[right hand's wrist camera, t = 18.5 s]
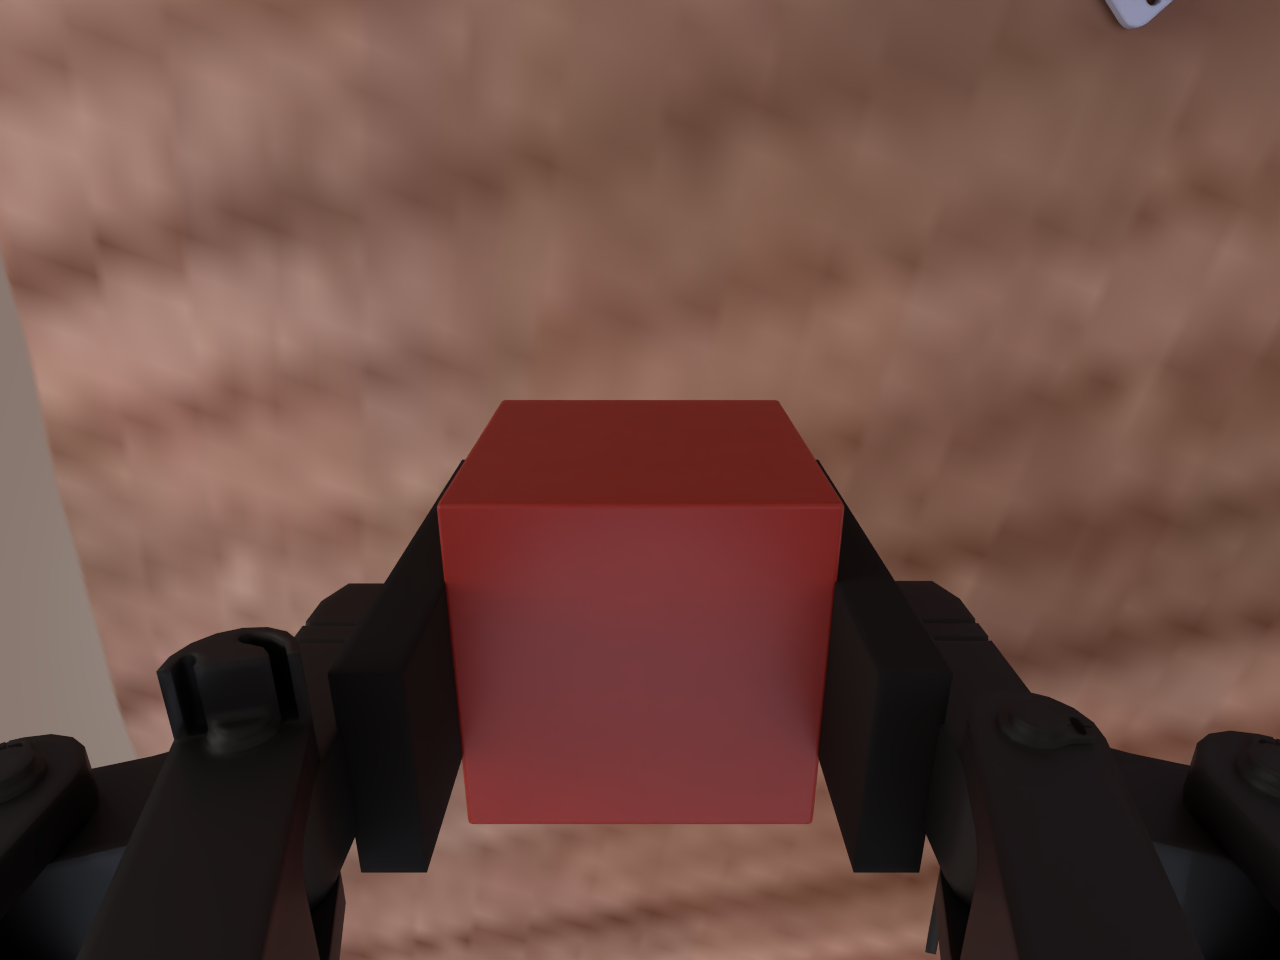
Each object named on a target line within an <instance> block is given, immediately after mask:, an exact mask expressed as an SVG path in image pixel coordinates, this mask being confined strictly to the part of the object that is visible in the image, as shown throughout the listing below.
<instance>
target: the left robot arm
mask: <svg viewBox="0 0 1280 960" xmlns="http://www.w3.org/2000/svg"><path fill="white" fill-rule="evenodd" d="M1105 1H1106V3H1107V4H1108V6H1109V8H1110V9H1111V11H1112V12H1113V14H1114V16H1115V17H1116V19H1117V20H1118V22H1119V23H1120V24H1121V25H1122V26H1123V27H1124V28H1127V29H1133V28H1138V27H1141V26H1143V25H1145V24H1146V23H1148V22H1149V21H1150V20H1151V19H1152V18H1153V17H1155V16H1156V15H1157V14H1158V13H1159V12H1160V11H1161V10H1162V9H1164V8H1165V7H1166V6H1167V5H1168V4H1169V3H1170V2H1171V1H1173V0H1155V2H1154V3H1153V4H1152V5H1149V4H1148V3H1147V1H1146V0H1105Z"/></svg>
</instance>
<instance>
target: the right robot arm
mask: <svg viewBox="0 0 1280 960" xmlns="http://www.w3.org/2000/svg"><path fill="white" fill-rule="evenodd" d="M464 461H465V460H462V461H461V463H460V464H459V466H458V467H457V469H456V471H455V472H454V474H453V475H452V477H451V478H450V480H449V482H448V483H447V485H446V486H445V488H444V490H443V491H442V493H441V494H440V496H439V497H438V499H437V501H436V502H435V504H434V505H433V507H432V509H431V510H430V512H429V513H428V515H427V516H426V518H425V520H424V521H423V523H422V524H421V526H420V528H419V529H418V531H417V532H416V534H415V535H414V537H413V539H412V540H411V542H410V543H409V545H408V547H407V548H406V550H405V551H404V553H403V554H402V556H401V558H400V559H399V561H398V562H397V564H396V566H395V567H394V569H393V570H392V572H391V573H390V575H389V577H388V578H387V580H386V581H385V583H384V584H347V585H346V586H344V587H343V588H341V589H340V590H338V591H337V592H335V593H333V594H332V595H330V596H329V597H327V598H326V599H324V600H323V601H321V602H320V604H319V605H318V606H317V608H316V609H315V610H314V612H313V613H312V614H311V616H310V617H309V618H308V620H307V621H306V626H302V628H301V629H300V630H299V632H298V633H297V634H296V636H295V637H293V636H292V635H291V634H289V633H288V632H287V631H283V630H278V629H274V628H269V627H256V628H240V629H236V630H231V631H226V632H221V633H217V634H214V635H211V636H209V637H206V638H204V639H201V640H198V641H196V642H193V643H191V644H189V645H188V646H186V647H184V648H183V649H181V650H180V651H178V652H176V653H175V654H173V655H172V656H170V657H169V658H168V659H167V660H166V661H165V662H164V664H163V665H162V666H161V667H160V668H159V669H158V670H157V671H156V672H157V676H158V680H159V683H160V687H161V691H162V695H163V699H164V702H165V706H166V710H167V714H168V718H169V721H170V725H171V729H172V733H173V737H174V742H173V744H172V746H171V748H170V751H169V752H166V753H163V754H159V755H155V756H151V757H147V758H142V759H137V760H132V761H127V762H123V763H118V764H113V765H108V766H103V767H98V768H93V769H92V768H91V765H90V762H89V759H88V756H87V753H86V750H85V747H84V746H83V745H82V744H81V743H79V742H78V741H77V740H76V739H74V738H73V737H68V736H61V735H54V734H49V735H41V736H32V737H24V738H19V739H15V740H11V741H9V742H7V743H5V742H4V743H1V744H0V960H339V958H340V949H341V940H342V931H343V922H344V913H345V904H346V902H345V895H344V888H343V883H342V877H341V872H340V870H341V868H342V866H343V863H344V861H345V859H346V856H347V854H348V852H349V849H350V847H351V845H352V843H353V840H354V838H356V844H357V850H358V856H359V862H360V868H361V872H427V870H428V867H429V864H430V861H431V857H432V854H433V851H434V847H435V844H436V841H437V838H438V834H439V831H440V828H441V825H442V821H443V818H444V815H445V812H446V808H447V805H448V802H449V799H450V795H451V792H452V789H453V786H454V782H455V779H456V776H457V773H458V769H459V766H460V763H461V760H462V746H461V736H460V726H459V716H458V706H457V696H456V687H455V677H454V667H453V657H452V647H451V637H450V627H449V617H448V607H447V597H446V587H445V581H444V573H443V563H442V553H441V543H440V533H439V523H438V513H437V506H438V503H439V501H440V500H441V498H442V497H443V495H444V493H445V492H446V490H447V489H448V487H449V485H450V484H451V482H452V481H453V479H454V477H455V476H456V474H457V473H458V471H459V469H460V468H461V466H462V465H463V463H464ZM816 461H817V463H818V465H819V466H820V468H821V469H822V471H823V473H824V474H825V476H826V477H827V479H828V480H829V482H830V484H831V485H832V487H833V488H834V490H835V492H836V493H837V495H838V496H839V498H840V499H841V501H842V503H843V505H844V516H843V526H842V535H841V545H840V555H839V565H838V575H837V581H836V582H835V592H834V602H833V612H832V622H831V632H830V642H829V652H828V662H827V672H826V682H825V692H824V702H823V712H822V721H821V731H820V741H819V751H818V758H819V761H820V764H821V768H822V771H823V774H824V777H825V781H826V784H827V787H828V791H829V794H830V797H831V800H832V804H833V807H834V810H835V813H836V817H837V820H838V823H839V826H840V830H841V833H842V836H843V839H844V843H845V846H846V849H847V852H848V856H849V859H850V862H851V865H852V869H853V872H913V873H919V871H920V865H921V859H922V853H923V847H924V841H925V836H926V835H927V837H928V840H929V842H930V844H931V847H932V849H933V851H934V854H935V856H936V858H937V860H938V863H939V865H940V872H939V877H938V883H937V888H936V894H935V899H934V904H933V910H932V915H931V921H930V926H929V932H928V938H927V944H926V951H925V952H927V953H932V954H936V951H937V946H938V940H939V947H940V956H941V960H1280V739H1277V740H1276V739H1273V737H1269V736H1265V735H1260V734H1253V733H1245V732H1236V731H1225V732H1218V733H1211V734H1208V735H1207V736H1206V737H1204V738H1203V739H1202V740H1200V741H1199V742H1198V743H1197V745H1196V748H1195V752H1194V755H1193V758H1192V761H1191V764H1190V766H1189V765H1184V764H1179V763H1175V762H1170V761H1165V760H1160V759H1155V758H1150V757H1145V756H1141V755H1136V754H1131V753H1127V752H1123V751H1120V750H1116V749H1112V748H1110V747H1109V745H1108V742H1107V740H1106V738H1105V737H1104V736H1103V734H1102V733H1101V732H1100V730H1099V729H1098V728H1097V726H1096V725H1095V724H1094V722H1092V721H1091V720H1089V719H1088V718H1087V717H1085V716H1084V715H1083V714H1081V713H1080V712H1078V711H1077V710H1076V709H1074V708H1072V707H1070V706H1068V705H1066V704H1064V703H1061V702H1059V701H1057V700H1055V699H1052V698H1050V697H1047V696H1043V695H1038V694H1034V693H1031V692H1030V691H1029V690H1028V688H1027V687H1026V686H1025V684H1024V683H1023V682H1022V680H1021V679H1020V678H1019V676H1018V675H1017V674H1016V672H1015V671H1014V670H1013V668H1012V667H1011V666H1010V665H1009V663H1008V662H1007V661H1006V659H1005V658H1004V657H1003V655H1002V654H1001V653H1000V651H999V650H998V649H997V647H996V646H995V645H994V643H993V642H992V641H988V636H987V634H986V633H985V632H984V630H983V629H982V628H981V626H980V625H979V624H978V623H975V618H974V617H973V616H972V614H971V613H970V612H969V611H968V609H967V608H966V607H965V605H964V604H963V603H962V601H961V600H960V599H959V598H958V597H956V596H955V595H953V594H951V593H950V592H948V591H947V590H945V589H944V588H942V587H941V586H939V585H937V584H936V583H934V582H933V581H894V579H893V577H892V576H891V574H890V573H889V571H888V569H887V568H886V566H885V565H884V563H883V562H882V560H881V558H880V557H879V555H878V554H877V552H876V551H875V549H874V547H873V546H872V544H871V543H870V541H869V539H868V538H867V536H866V535H865V533H864V532H863V530H862V528H861V527H860V525H859V524H858V522H857V520H856V519H855V517H854V516H853V514H852V513H851V511H850V509H849V508H848V506H847V505H846V503H845V501H844V500H843V498H842V497H841V495H840V494H839V492H838V490H837V489H836V487H835V486H834V484H833V482H832V481H831V479H830V478H829V476H828V475H827V473H826V471H825V470H824V468H823V467H822V465H821V463H820V462H819V460H816Z"/></svg>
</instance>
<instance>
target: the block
mask: <svg viewBox="0 0 1280 960" xmlns="http://www.w3.org/2000/svg"><path fill="white" fill-rule="evenodd" d="M437 513H438V523H439V533H440V543H441V553H442V563H443V573H444V581H445V587H446V597H447V607H448V617H449V627H450V637H451V647H452V657H453V667H454V677H455V687H456V696H457V706H458V716H459V726H460V736H461V746H462V762H463V772H464V782H465V792H466V802H467V812H468V820H469V822H470V823H471V824H809V823H811V822H812V820H813V811H814V801H815V791H816V782H817V772H818V762H819V758H818V751H819V741H820V731H821V721H822V712H823V702H824V692H825V682H826V672H827V662H828V652H829V642H830V632H831V622H832V612H833V602H834V592H835V582H836V581H837V575H838V565H839V555H840V545H841V535H842V526H843V516H844V505H843V503H842V501H841V499H840V498H839V496H838V495H837V493H836V492H835V490H834V488H833V487H832V485H831V484H830V482H829V480H828V479H827V477H826V476H825V474H824V473H823V471H822V469H821V468H820V466H819V465H818V463H817V461H816V460H815V458H814V457H813V455H812V454H811V452H810V450H809V449H808V447H807V446H806V444H805V443H804V441H803V439H802V438H801V436H800V435H799V433H798V431H797V430H796V428H795V427H794V425H793V424H792V422H791V420H790V419H789V417H788V416H787V414H786V412H785V411H784V409H783V408H782V406H781V405H780V403H779V401H776V400H504V401H502V402H501V404H500V405H499V407H498V409H497V410H496V412H495V413H494V415H493V417H492V418H491V420H490V421H489V423H488V425H487V426H486V428H485V429H484V431H483V433H482V434H481V436H480V437H479V439H478V441H477V442H476V444H475V445H474V447H473V449H472V450H471V452H470V453H469V455H468V457H467V458H466V460H465V461H464V463H463V465H462V466H461V468H460V469H459V471H458V473H457V474H456V476H455V477H454V479H453V481H452V482H451V484H450V485H449V487H448V489H447V490H446V492H445V493H444V495H443V497H442V498H441V500H440V501H439V503H438V506H437Z"/></svg>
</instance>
